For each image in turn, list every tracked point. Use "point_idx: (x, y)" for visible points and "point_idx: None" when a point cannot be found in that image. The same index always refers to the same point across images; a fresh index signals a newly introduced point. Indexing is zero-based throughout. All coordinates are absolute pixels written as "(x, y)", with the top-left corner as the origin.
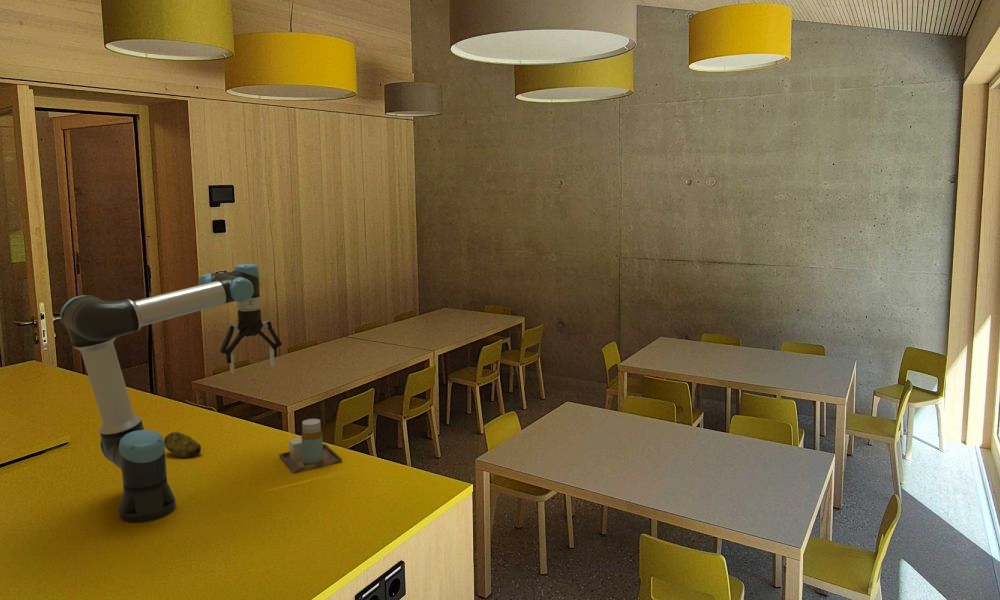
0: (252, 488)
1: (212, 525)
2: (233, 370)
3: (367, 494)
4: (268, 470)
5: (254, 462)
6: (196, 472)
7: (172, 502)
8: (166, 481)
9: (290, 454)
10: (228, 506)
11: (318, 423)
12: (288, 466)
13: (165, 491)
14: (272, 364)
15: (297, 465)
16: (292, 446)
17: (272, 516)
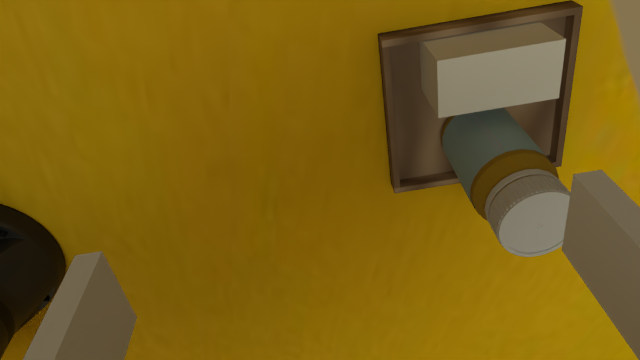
0: (265, 223)
1: (175, 350)
2: (120, 341)
3: (516, 328)
4: (324, 119)
5: (283, 26)
6: (62, 37)
7: (55, 288)
8: (14, 325)
9: (422, 52)
10: (204, 291)
11: (557, 246)
12: (389, 146)
13: (25, 318)
14: (579, 272)
15: (420, 132)
16: (434, 102)
17: (300, 352)
